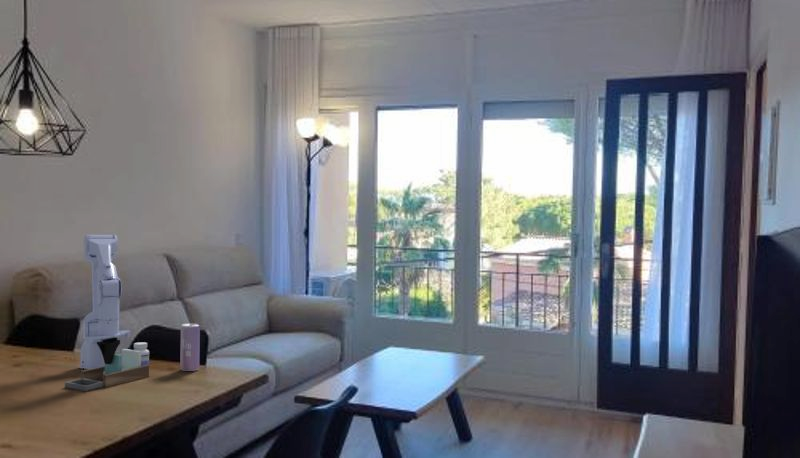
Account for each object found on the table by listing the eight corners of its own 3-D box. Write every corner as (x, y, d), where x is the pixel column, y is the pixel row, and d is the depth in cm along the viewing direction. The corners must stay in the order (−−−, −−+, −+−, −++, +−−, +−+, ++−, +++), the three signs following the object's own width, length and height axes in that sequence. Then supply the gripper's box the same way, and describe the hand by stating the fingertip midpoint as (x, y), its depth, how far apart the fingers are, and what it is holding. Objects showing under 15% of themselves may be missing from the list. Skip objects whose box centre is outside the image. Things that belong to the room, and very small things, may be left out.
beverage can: (202, 368, 220) (202, 323, 220) (194, 372, 215) (195, 326, 214) (184, 367, 221) (185, 323, 221) (177, 371, 215) (177, 325, 215)
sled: (103, 378, 204) (103, 353, 204) (124, 372, 211) (125, 348, 211) (119, 381, 200) (120, 355, 200) (140, 375, 208) (141, 351, 208)
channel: (80, 382, 199) (80, 371, 199) (124, 372, 213) (124, 361, 213) (106, 387, 194) (106, 375, 194) (148, 376, 208) (149, 365, 208)
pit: (64, 387, 193) (64, 382, 193) (82, 383, 198) (82, 378, 198) (85, 391, 189) (86, 386, 189) (103, 387, 194) (103, 382, 194)
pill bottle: (126, 373, 211) (127, 343, 211) (141, 370, 215) (141, 341, 215) (138, 376, 208) (138, 345, 208) (152, 373, 213) (152, 342, 213)
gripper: (97, 323, 192) (96, 369, 193) (137, 317, 205) (136, 360, 206) (81, 321, 196) (80, 367, 196) (121, 315, 209) (120, 358, 209)
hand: (108, 363), depth 201 cm, fingers closed
